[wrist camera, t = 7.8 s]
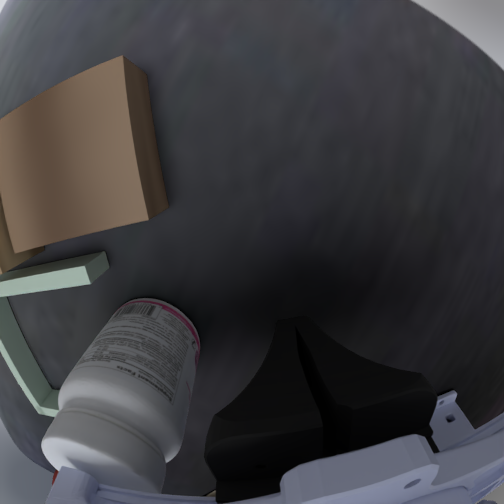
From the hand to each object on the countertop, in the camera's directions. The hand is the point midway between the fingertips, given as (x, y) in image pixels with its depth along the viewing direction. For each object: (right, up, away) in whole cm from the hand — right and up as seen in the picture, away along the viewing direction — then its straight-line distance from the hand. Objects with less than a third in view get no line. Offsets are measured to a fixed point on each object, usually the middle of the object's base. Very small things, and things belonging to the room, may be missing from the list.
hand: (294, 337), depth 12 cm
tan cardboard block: (-9, +8, -1) cm, 12 cm away
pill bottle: (-7, -1, +2) cm, 7 cm away
